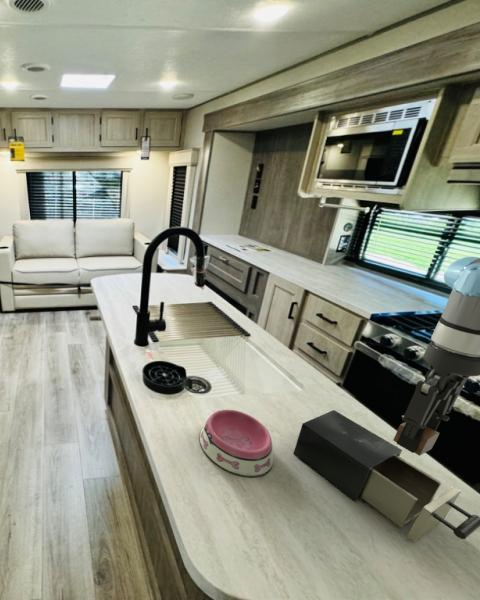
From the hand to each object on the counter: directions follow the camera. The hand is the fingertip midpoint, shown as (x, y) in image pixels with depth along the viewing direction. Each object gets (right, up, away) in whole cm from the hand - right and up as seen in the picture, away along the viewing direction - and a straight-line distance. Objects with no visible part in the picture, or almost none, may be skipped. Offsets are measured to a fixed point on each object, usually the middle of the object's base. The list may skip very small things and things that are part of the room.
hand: (412, 443), depth 66 cm
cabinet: (-4, -13, +14) cm, 19 cm away
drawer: (0, -16, +3) cm, 16 cm away
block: (0, 0, 0) cm, 0 cm away
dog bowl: (-28, -11, +20) cm, 36 cm away
